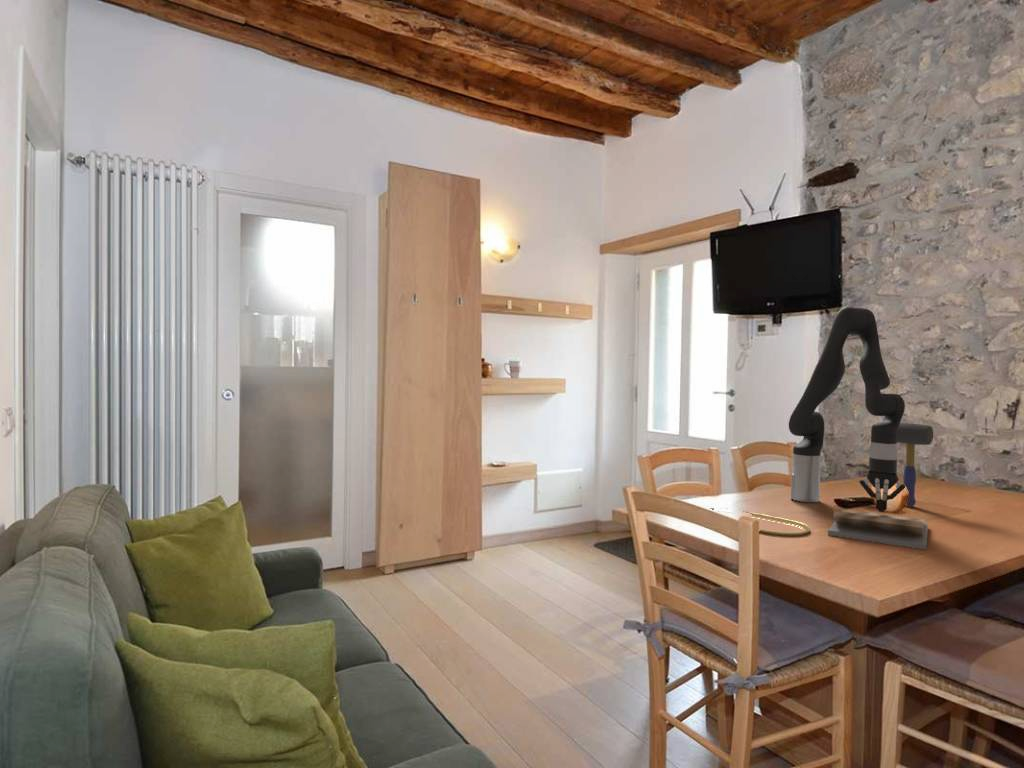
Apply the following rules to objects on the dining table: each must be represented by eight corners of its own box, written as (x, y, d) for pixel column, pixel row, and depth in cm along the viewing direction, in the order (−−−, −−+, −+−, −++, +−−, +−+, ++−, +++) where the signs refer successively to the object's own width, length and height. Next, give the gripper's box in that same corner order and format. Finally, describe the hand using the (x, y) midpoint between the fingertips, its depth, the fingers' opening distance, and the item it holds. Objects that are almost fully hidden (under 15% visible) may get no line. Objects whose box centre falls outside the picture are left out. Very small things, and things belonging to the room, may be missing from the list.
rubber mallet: (932, 508, 217) (935, 424, 216) (925, 511, 212) (927, 425, 211) (893, 501, 226) (895, 421, 226) (885, 504, 222) (888, 422, 221)
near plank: (833, 515, 181) (833, 510, 181) (836, 523, 186) (836, 518, 187) (922, 527, 168) (922, 522, 169) (922, 535, 174) (922, 530, 174)
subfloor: (827, 535, 180) (828, 524, 180) (840, 516, 203) (840, 507, 202) (926, 550, 166) (926, 538, 166) (927, 528, 189) (927, 518, 189)
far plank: (839, 518, 194) (840, 513, 194) (843, 513, 200) (843, 509, 200) (923, 529, 181) (923, 524, 181) (923, 524, 188) (923, 519, 188)
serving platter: (715, 509, 212) (715, 505, 212) (820, 531, 186) (820, 525, 186) (685, 518, 200) (686, 513, 200) (793, 542, 174) (793, 536, 174)
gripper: (908, 457, 191) (906, 512, 192) (860, 453, 199) (858, 506, 199) (907, 460, 185) (905, 517, 186) (857, 456, 193) (855, 510, 193)
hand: (881, 511), depth 192 cm, fingers closed
